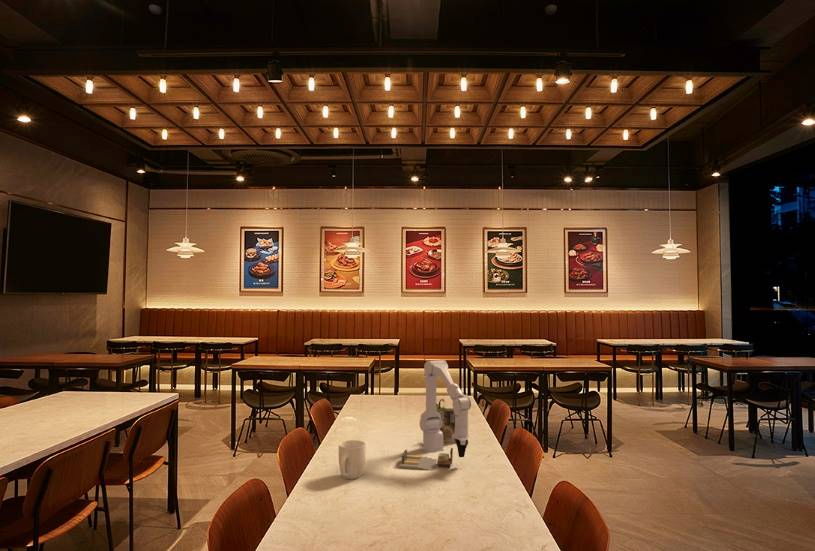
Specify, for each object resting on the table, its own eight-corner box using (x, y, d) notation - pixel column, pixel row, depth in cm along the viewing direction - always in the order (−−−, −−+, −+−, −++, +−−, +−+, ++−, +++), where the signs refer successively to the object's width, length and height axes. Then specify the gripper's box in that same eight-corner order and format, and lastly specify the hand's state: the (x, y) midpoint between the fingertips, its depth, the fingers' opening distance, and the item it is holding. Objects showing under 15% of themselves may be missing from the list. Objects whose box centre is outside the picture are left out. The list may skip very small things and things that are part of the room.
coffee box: (458, 440, 233) (459, 408, 234) (456, 443, 227) (456, 411, 228) (442, 438, 236) (442, 407, 237) (438, 441, 230) (439, 409, 231)
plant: (456, 421, 272) (456, 403, 272) (424, 420, 272) (424, 402, 273) (454, 413, 291) (454, 396, 292) (424, 412, 292) (424, 395, 293)
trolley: (452, 463, 198) (452, 448, 198) (452, 468, 192) (452, 452, 193) (438, 462, 199) (438, 447, 199) (437, 467, 193) (437, 451, 194)
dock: (436, 459, 203) (436, 449, 203) (433, 471, 189) (434, 460, 190) (404, 457, 205) (404, 447, 206) (399, 468, 192) (399, 458, 192)
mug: (354, 487, 172) (355, 452, 173) (328, 483, 175) (329, 449, 176) (369, 473, 186) (369, 441, 187) (345, 470, 189) (345, 438, 190)
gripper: (451, 420, 203) (451, 451, 202) (453, 429, 188) (453, 462, 188) (466, 420, 203) (466, 451, 202) (470, 429, 188) (470, 462, 187)
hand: (461, 456), depth 195 cm, fingers closed
